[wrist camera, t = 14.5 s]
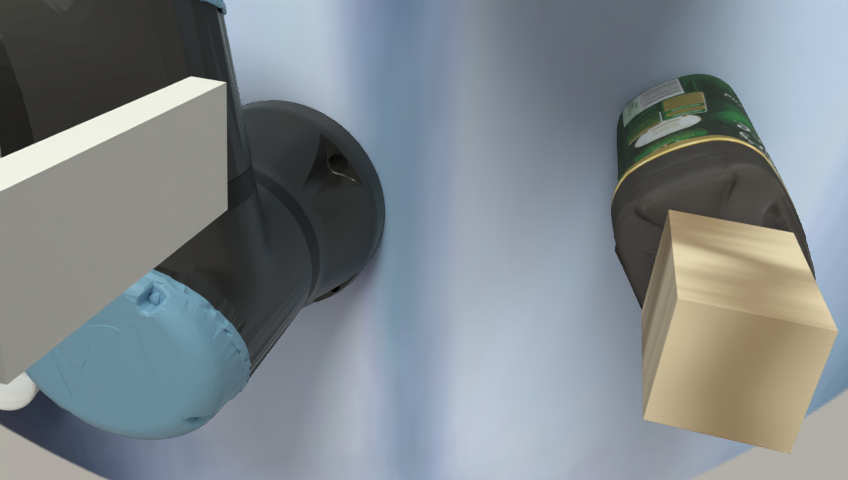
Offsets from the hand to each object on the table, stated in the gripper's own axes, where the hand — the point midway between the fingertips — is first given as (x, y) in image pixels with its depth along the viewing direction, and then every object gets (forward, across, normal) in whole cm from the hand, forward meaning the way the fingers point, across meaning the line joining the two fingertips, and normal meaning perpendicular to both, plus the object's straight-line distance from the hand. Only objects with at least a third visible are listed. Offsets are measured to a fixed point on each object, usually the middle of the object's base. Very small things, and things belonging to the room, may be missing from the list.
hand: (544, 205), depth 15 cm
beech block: (+18, +7, -9) cm, 22 cm away
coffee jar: (+37, +7, -9) cm, 39 cm away
